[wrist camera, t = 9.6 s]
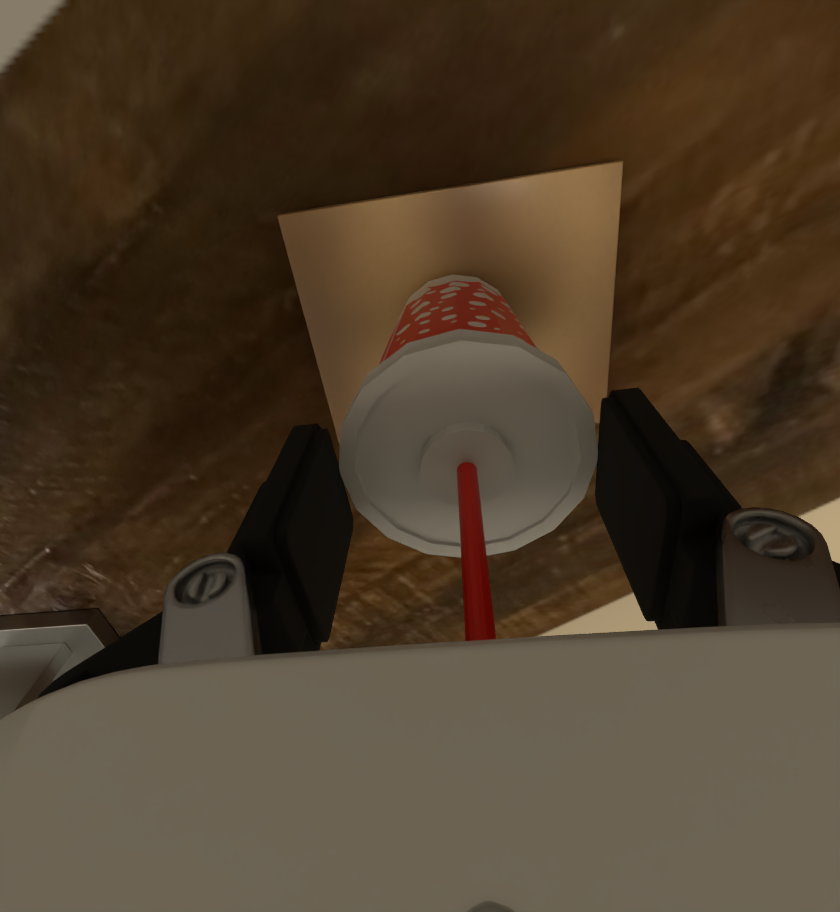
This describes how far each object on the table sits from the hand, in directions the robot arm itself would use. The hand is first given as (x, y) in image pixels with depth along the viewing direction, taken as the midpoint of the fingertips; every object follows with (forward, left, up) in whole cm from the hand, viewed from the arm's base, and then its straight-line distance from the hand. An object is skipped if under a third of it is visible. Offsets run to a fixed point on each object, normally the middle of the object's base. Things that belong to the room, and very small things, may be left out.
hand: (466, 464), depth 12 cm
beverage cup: (0, 0, -9) cm, 9 cm away
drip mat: (0, 0, -10) cm, 10 cm away
